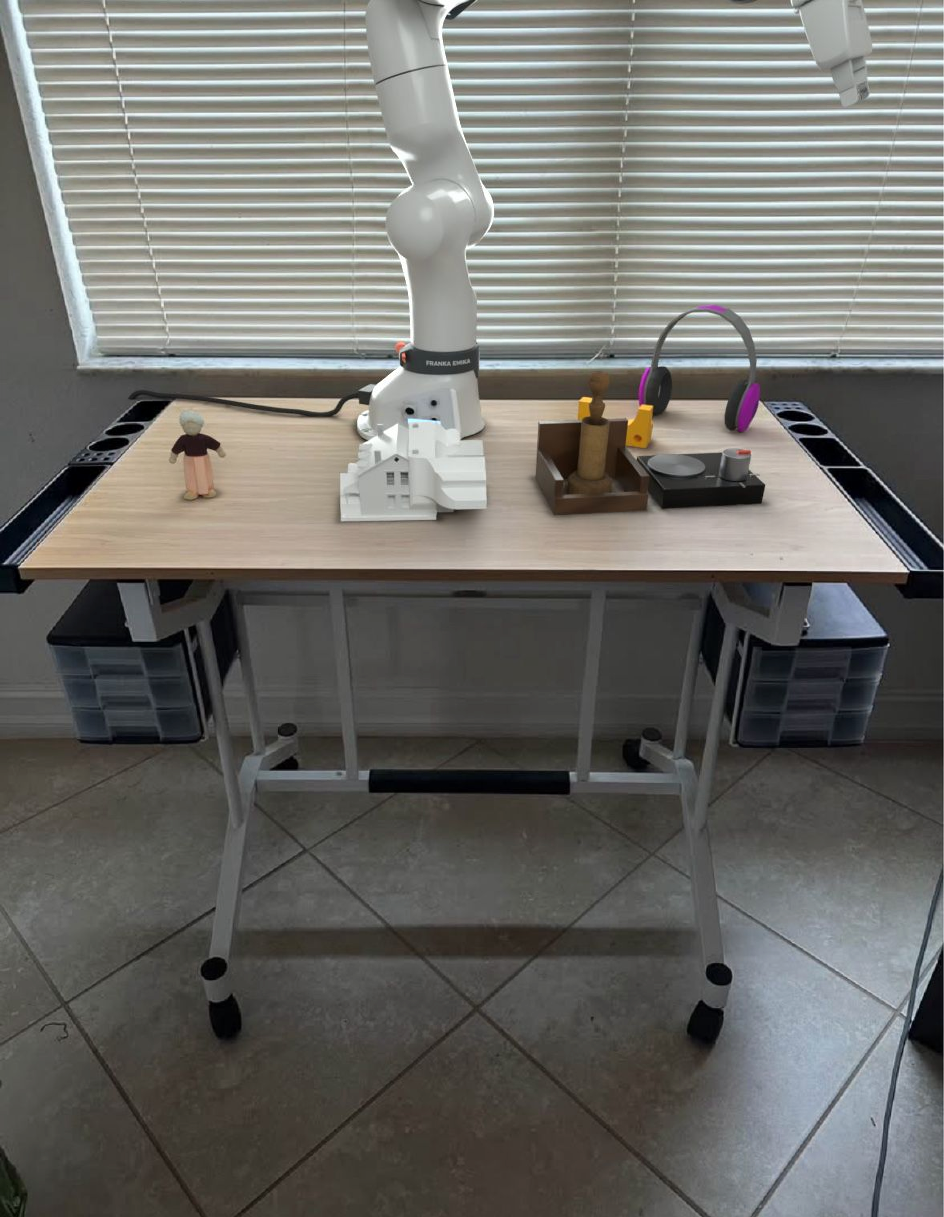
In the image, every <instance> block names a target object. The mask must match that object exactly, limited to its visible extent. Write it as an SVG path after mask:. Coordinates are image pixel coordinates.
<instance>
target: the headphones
mask: <svg viewBox="0 0 944 1217" xmlns="http://www.w3.org/2000/svg"><path fill="white" fill-rule="evenodd" d="M692 313H709V314H713V315H717V316H720V317H721V318H722V319H724V320H725V321H727V322H728V323H730V324H731V325H732V327H733V328H734V329H735V330H736V331H737V333H738V334H739V335H740V337H741V339H742V341H743V343H744V345H745V348H746V350H747V351H746V352H747V356H748V360H749V377H748V380H747V379H741V380H739V381H738V382H737V383H735V386H734V387H733V389H732V390H731V393H730V395H729V397H728V400H727V403H726V406H725V410H724V416H723V417H724V419H723V421H724V426H725V428H726V429H727V430H729V431H735V430H738V432H739V433H742V432H746V431H747V429H748V428H749V427H750V425H751V423H752V421H753V419H754V418H755V416H756V414H757V412H758V409H759V402H760V395H761V394H760V393H761V387H760V386H761V385H760V384H758V383H757V382H755V381H756V374H757V373H756V372H757V361H758V360H757V353H756V346H755V342H754V339H753V337H752V334H751V331H750V329H749V327H748V325H747V324H746V322H744V320H743V319H742V317H741V316H740V315H738V313H736V312H735V311H733V310H732V309H731V308H729V307H726V306H723V305H719V304H702V305H698V306H696V307H694V308H691V309H689V310H687V311H685V312H683V313H681V314H679V315H678V316H676V317H675V318H674V319H672V320H671V321H670V322H669V323H668V324H666V327H665V328H664V329H663V330H662V331H661V333H660V335H659V337H658V339H657V342H656V344H655V346H654V348H653V352H652V359H651V363H650V366H648V367H646V369H645V370H644V372H643V374H642V376H641V380H640V384H639V387H638V388H639V389H638V405H639V407H640V406H641V405H642V404H643V405H651V406H653V413H652V416H654V417H655V416H660V415H662V414H664V412H665V411H667V408H668V405H669V403H670V402H671V401H670V400H671V397H672V391H673V379H672V374H671V371H670V370H669V368H668V367H667V366H664V365H661V366H659V360H660V355H661V352H662V348H663V345H664V343H665V341H666V339H667V337H668V335H669V333H671V331H672V329H673V328H675V326H676V325H677V324H678V322H679V321H681V320H683V318H685V317H686V316H688V315H689V314H692Z"/></svg>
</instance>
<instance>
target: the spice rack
mask: <svg viewBox="0 0 944 1217" xmlns="http://www.w3.org/2000/svg"><path fill="white" fill-rule="evenodd" d="M607 419H608V420H609V421H610V426H609V434H608V443H607V452H606V461H605V470H604V472H605V473H607V475H608V476H609V477H610V478H611V479H613V478H615V480H616V481H617V482H618V484H619V486H621V488H622V489H623V491H615V492H611V493H592V494H571V495H568V494H564V483H565V480H567V481H568V477H569V476H570V475H571V474H572V473H574V472H575V471H576V470H577V469H578V459H579V449H580V437H581V424H582V420H578V419H568V420H567V419H566V420H538V422H537V442H536V443H537V444H536V460H535V461H536V462H535V480H536V481H537V484H538V485H539V487H540V489H541V491H542V493H543V495H544V497H545V499H546V501H547V503H548V505H549V507H550V509H551V511H552V513H553V515H554V516H561V515H562V516H563V515H580V514H581V515H582V514H583V515H584V514H599V513H600V514H601V513H602V514H603V513H619V512H620V513H623V512H641V511H642V512H643V511H648V503H649V494H650V493H649V492H648V483H649V475H648V474H647V473H646V471H645V470H644V469H643V468H642V466H641V465H640V464H639V463H638V461H637V458H636V457H635V456H634V455H633V454H632V453H631V451H630V450H629V448H627V445H626V437H627V428H628V421H629V419H627V418H626V417H622V418H607Z"/></svg>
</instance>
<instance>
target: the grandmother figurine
mask: <svg viewBox="0 0 944 1217" xmlns="http://www.w3.org/2000/svg"><path fill="white" fill-rule="evenodd" d="M178 420H179V424H180V426H181V427H182V431H183V432H184V434H182V435H180V436H179V437H178V439H177V440H176V441H175V443H174V444H173V446H172V448H171V449H170V450H171V451H170V453H169V454H170V455H169V456H170V457H169V458H168V462H169V463H170V464H172V465H173V464H176V463H177V459H178V457H179V454H181V453H183V473H184V482H185V488H186V491H187V492H186V493H185V494H184V495H183V499H184V500H189V501H191V500H196V499H198V498H199V495H201V496H202V498H206V499H210V498H214V497H216V496H217V492H216V491H215V490H214V488H215V483H214V472H213V466H212V462H211V457H210V454H209V453H208V450H211V451H215V453H217V455H218V457H219V458H222V459H223V458H225V457H226V456H227V452H226V451H224V449H223V447H222V446H221V444H222V443H221V442H220V441H218V440H217V439H216V438H214V437H212V436H210V435H207V434H206V433H201V432H202V428H203V427H204V425H205V420H204V417H203V416H202V415H201V414H200V413H199V412H197V411H195V410H193V409H186V410H183V411H182V412H181V413H180V415H179V417H178Z"/></svg>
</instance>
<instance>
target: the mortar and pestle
mask: <svg viewBox="0 0 944 1217" xmlns="http://www.w3.org/2000/svg"><path fill="white" fill-rule="evenodd" d="M610 385H611V379H610V375H609V374H608V372H606V371H604V370H595V371H592V372H591V373H590V375H589V376H588V379H587V387H588V388H589V391H590V393H591V395H592V397H591V398H592V401H591V402H590V403H589V411H590V416H589V417H584V418H583V419H582V424H581V437H580V449H579V459H578V469H577V470H576V471H575V472H574V473H572V474H571V475H570V476H569V477H568V480H567V485H566V493H567V495H571V494H592V493H612V490H613V489H612V488H613V478H610V477H609V476H608V475H607V473H605V472H604V470H605V461H606V452H607V443H608V434H609V426H610V421H609V420H608V419H609V418H605V417H604V416H603V414H604V412H605V409H606V404H605V403H604V400H603V398H604V395H605V393H606V392H607V390H608V389H609V388H610Z"/></svg>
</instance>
